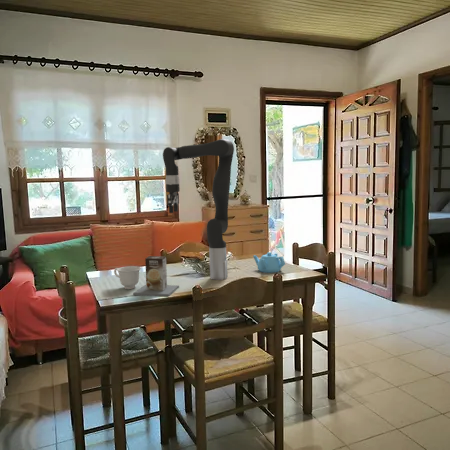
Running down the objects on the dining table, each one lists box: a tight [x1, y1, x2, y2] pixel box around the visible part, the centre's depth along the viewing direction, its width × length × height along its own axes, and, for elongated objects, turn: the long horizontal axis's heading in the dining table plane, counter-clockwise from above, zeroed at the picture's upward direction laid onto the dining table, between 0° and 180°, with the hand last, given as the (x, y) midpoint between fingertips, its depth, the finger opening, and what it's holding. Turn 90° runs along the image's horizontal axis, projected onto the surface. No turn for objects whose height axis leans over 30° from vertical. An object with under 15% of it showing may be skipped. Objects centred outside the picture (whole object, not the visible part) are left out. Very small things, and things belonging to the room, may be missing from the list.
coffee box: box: [144, 255, 168, 291], centre depth 211 cm, size 9×6×16 cm
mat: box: [132, 284, 180, 297], centre depth 212 cm, size 18×16×1 cm
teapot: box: [253, 251, 286, 274], centre depth 251 cm, size 15×15×11 cm
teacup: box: [113, 265, 142, 290], centre depth 220 cm, size 12×15×10 cm
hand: (173, 212), depth 242 cm, fingers open, 8 cm apart
